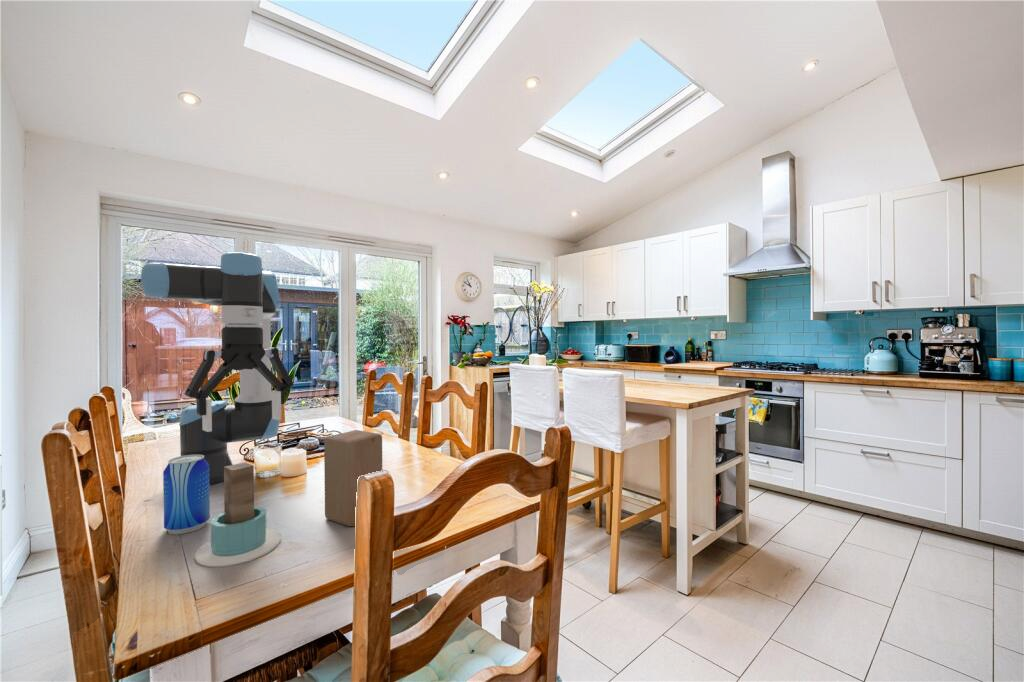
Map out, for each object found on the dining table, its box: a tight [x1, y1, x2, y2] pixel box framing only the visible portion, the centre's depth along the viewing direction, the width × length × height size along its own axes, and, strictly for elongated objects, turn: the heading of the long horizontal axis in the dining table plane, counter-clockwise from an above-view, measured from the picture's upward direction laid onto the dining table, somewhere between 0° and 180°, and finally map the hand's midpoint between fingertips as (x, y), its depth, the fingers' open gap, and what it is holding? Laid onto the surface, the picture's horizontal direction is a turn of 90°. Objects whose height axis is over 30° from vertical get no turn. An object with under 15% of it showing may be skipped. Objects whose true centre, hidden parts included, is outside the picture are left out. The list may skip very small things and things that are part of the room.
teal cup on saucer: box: [194, 506, 281, 568], centre depth 89 cm, size 15×15×7 cm
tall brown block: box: [223, 461, 255, 524], centre depth 89 cm, size 4×4×15 cm
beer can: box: [162, 455, 211, 535], centre depth 98 cm, size 8×8×16 cm
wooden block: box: [323, 429, 383, 528], centre depth 104 cm, size 10×10×20 cm
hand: (243, 424), depth 92 cm, fingers open, 13 cm apart
